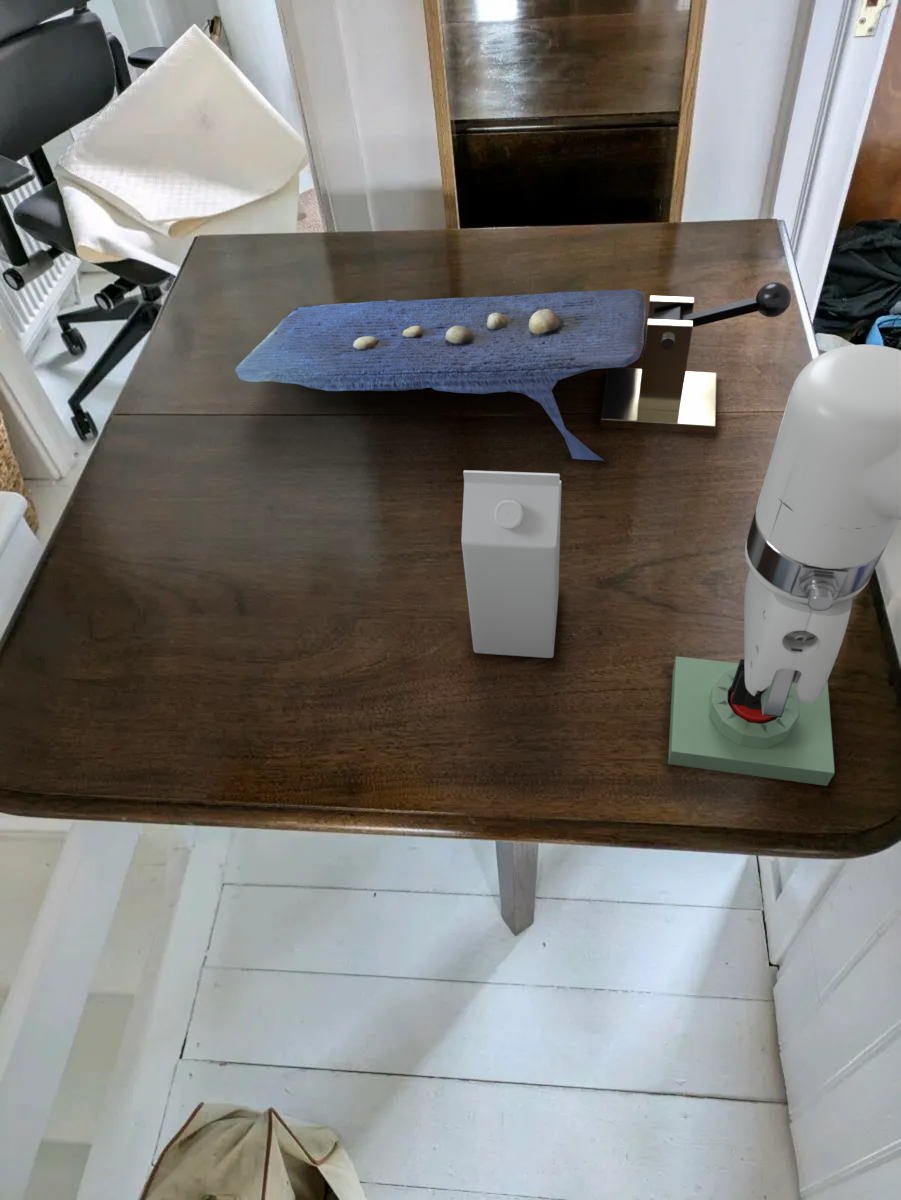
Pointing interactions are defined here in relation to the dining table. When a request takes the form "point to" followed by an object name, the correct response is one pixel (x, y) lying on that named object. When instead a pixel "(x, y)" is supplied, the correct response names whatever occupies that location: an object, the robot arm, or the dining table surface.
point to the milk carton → (512, 560)
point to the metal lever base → (662, 380)
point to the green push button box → (745, 729)
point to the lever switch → (737, 307)
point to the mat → (456, 345)
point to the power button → (750, 713)
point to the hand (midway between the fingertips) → (752, 697)
